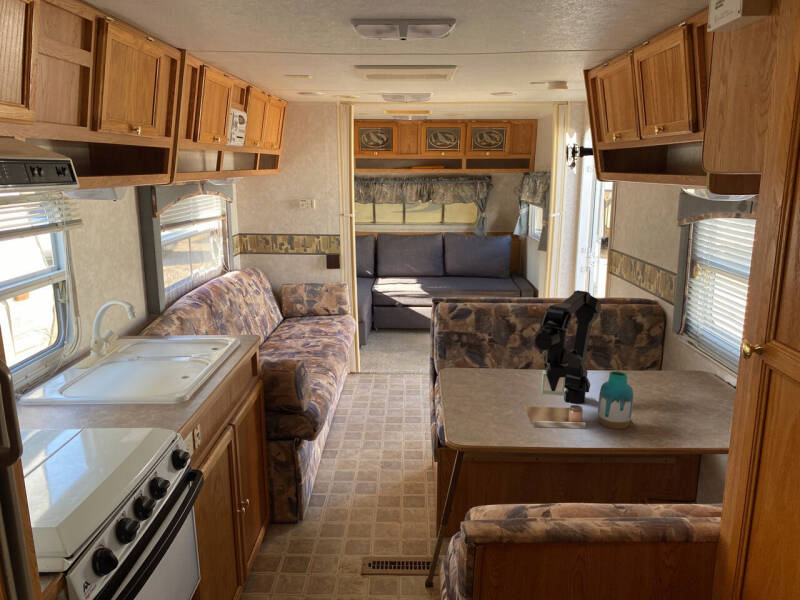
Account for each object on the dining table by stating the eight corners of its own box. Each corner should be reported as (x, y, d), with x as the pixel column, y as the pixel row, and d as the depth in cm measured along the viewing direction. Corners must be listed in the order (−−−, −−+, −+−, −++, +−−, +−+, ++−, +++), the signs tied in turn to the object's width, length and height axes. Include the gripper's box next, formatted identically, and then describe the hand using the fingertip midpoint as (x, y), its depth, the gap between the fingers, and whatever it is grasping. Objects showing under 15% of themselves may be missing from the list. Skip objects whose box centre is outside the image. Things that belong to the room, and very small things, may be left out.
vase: (612, 419, 200) (617, 366, 196) (637, 431, 191) (643, 376, 187) (589, 424, 196) (594, 370, 191) (613, 437, 186) (619, 380, 182)
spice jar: (579, 421, 195) (581, 404, 193) (583, 426, 190) (584, 410, 189) (566, 420, 195) (567, 404, 193) (569, 426, 190) (571, 409, 189)
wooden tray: (572, 411, 206) (572, 403, 205) (584, 432, 189) (585, 423, 189) (523, 410, 206) (524, 401, 206) (532, 431, 190) (533, 421, 189)
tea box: (542, 394, 193) (543, 374, 191) (541, 389, 197) (542, 370, 195) (563, 395, 192) (565, 375, 190) (562, 391, 196) (564, 371, 194)
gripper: (585, 353, 180) (581, 400, 183) (578, 338, 198) (574, 381, 201) (548, 351, 182) (545, 397, 185) (544, 335, 200) (541, 378, 203)
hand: (552, 388), depth 194 cm, fingers closed on tea box, 4 cm apart
